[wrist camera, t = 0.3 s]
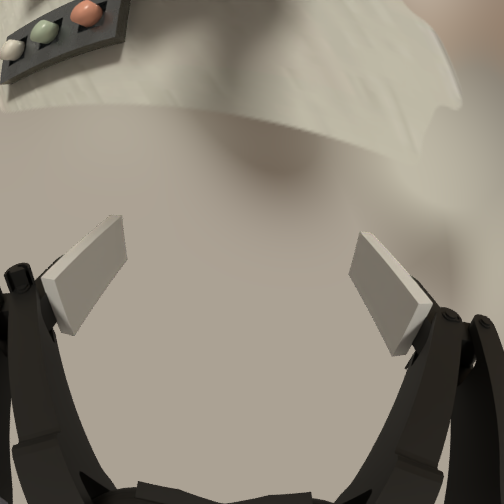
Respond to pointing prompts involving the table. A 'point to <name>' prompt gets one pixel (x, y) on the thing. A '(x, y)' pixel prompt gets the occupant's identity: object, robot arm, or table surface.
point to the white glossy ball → (12, 50)
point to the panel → (66, 38)
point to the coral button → (86, 13)
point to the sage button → (44, 32)
